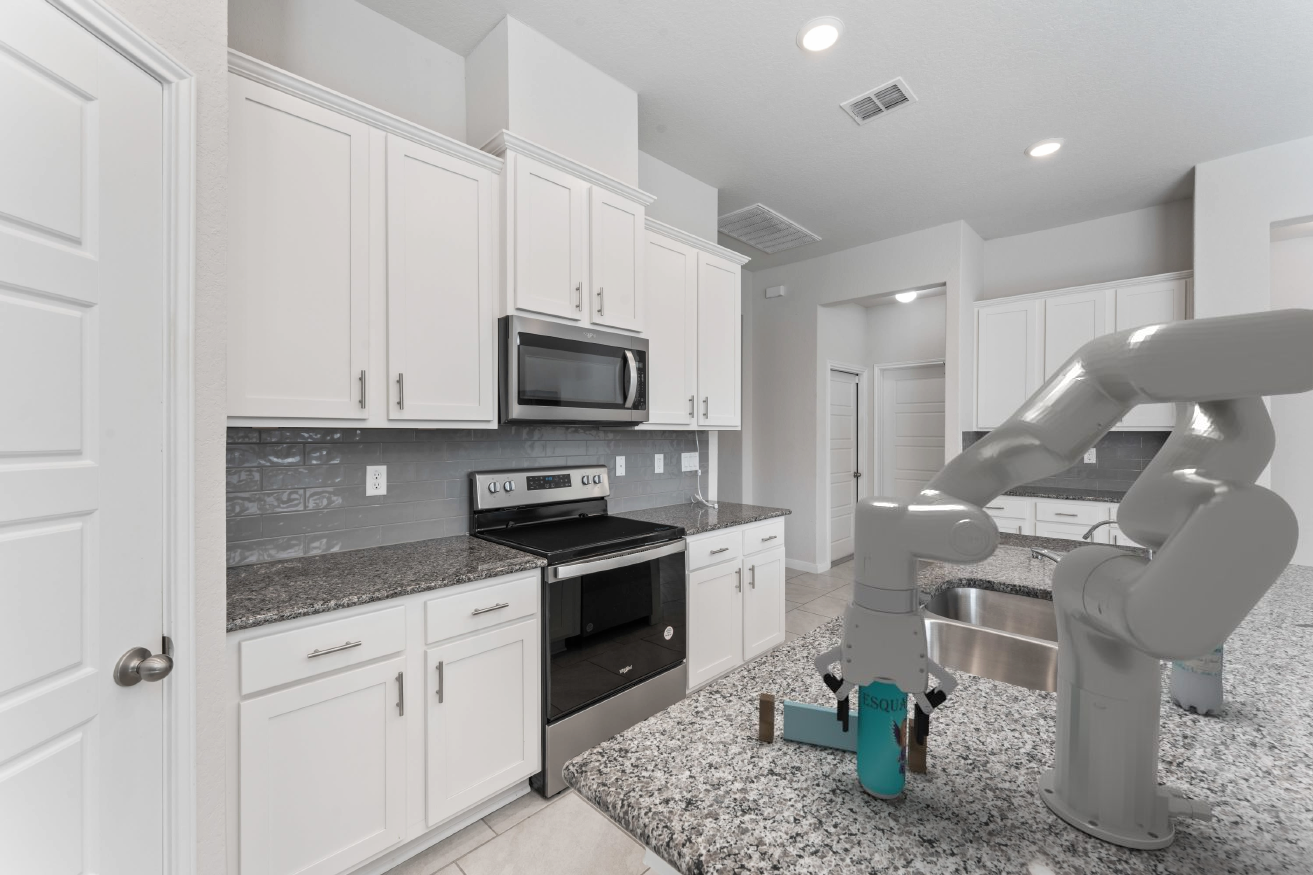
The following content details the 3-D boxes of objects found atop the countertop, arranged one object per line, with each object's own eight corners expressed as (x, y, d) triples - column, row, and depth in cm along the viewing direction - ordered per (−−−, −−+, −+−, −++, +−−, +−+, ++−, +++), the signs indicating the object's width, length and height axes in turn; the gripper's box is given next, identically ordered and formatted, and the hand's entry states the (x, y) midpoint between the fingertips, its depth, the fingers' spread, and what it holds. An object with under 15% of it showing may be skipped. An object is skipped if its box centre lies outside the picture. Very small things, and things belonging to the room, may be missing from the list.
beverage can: (898, 809, 65) (901, 686, 65) (850, 789, 69) (852, 672, 68) (910, 784, 70) (912, 668, 70) (864, 767, 73) (866, 656, 73)
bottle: (1175, 711, 89) (1180, 589, 88) (1161, 694, 95) (1165, 579, 94) (1232, 722, 85) (1237, 596, 85) (1213, 703, 91) (1218, 585, 91)
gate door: (902, 754, 76) (903, 719, 75) (903, 759, 74) (904, 723, 74) (783, 733, 81) (784, 700, 80) (783, 738, 79) (783, 704, 79)
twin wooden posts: (923, 761, 75) (924, 718, 75) (926, 773, 72) (927, 728, 72) (760, 732, 81) (761, 692, 81) (758, 741, 79) (758, 700, 79)
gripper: (955, 594, 70) (951, 729, 70) (813, 580, 75) (810, 706, 75) (969, 614, 63) (965, 764, 63) (811, 597, 68) (808, 736, 68)
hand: (881, 732), depth 69 cm, fingers open, 8 cm apart
